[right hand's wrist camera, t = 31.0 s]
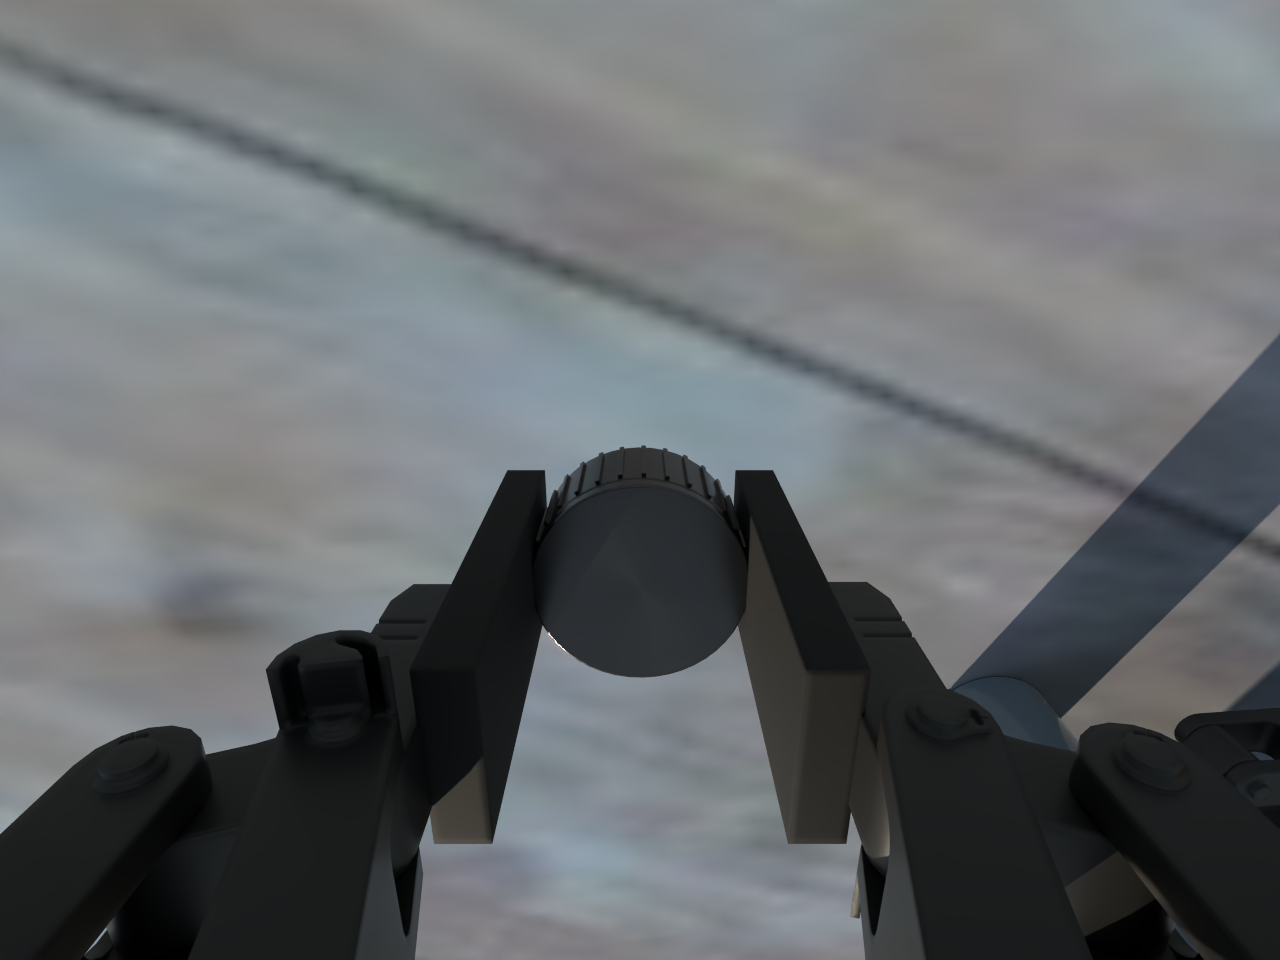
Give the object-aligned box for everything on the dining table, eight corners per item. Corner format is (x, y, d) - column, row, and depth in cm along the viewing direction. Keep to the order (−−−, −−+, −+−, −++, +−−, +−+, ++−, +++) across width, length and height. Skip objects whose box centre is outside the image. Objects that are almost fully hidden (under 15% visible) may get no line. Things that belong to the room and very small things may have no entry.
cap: (643, 653, 16) (643, 716, 14) (501, 539, 15) (480, 589, 13) (779, 534, 14) (800, 584, 13) (636, 401, 13) (636, 434, 12)
